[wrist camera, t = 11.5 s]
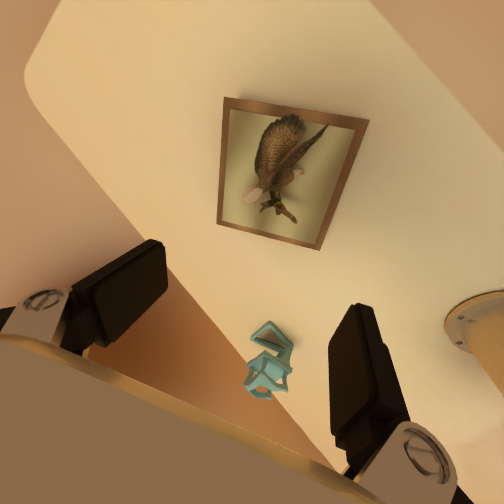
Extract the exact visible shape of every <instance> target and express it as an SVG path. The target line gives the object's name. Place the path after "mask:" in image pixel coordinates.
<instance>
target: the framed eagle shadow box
mask: <svg viewBox="0 0 504 504" xmlns="http://www.w3.org/2000/svg"><path fill="white" fill-rule="evenodd" d="M291 113H294V114H295V116H296V115H299V116H300V120H303V121H304V126H306V130H305V132H304V133H303V135H302V136H301V137H300V138H299V140H298V141H297V142H296V143H295V144H294V145H293V147H292V149H293V148H295V147H296V146H297V145H299V144H301V143H303V142H304V141H306V140H309V139H311V138H312V137H314V136H315V135H316V134H317V133H318V132H319V131H320V130H321V129H322V128H323V127H324V126H325V125H326V124H327V123H329V125H328V127H327V128H326V130H325V131H324V133H323V135H322V136H321V137H320V138H319V139H318V140H317V141H316V142H315V143H314V144H313V145H312V146H311V147H310V148H309V149H308V150H307V152H306V153H305V155H304V156H303V157H302V158H301V159H300V160H299V161H298V162H297V163H296V165H295V166H294V168H293V169H300V170H302V171H304V174H301V175H300V176H298V177H297V178H296V179H294V180H293V181H292V182H291V183H289V184H288V185H286V186H283V188H282V189H281V192H280V197H281V202H282V203H283V205H284V206H285V207H286V210H287V211H288V212H290V213H291V214H292V215H293V216H295V217H296V220H297V224H295V223H293V222H292V221H291V219H289V218H288V217H287V216H285V215H283V214H282V213H281V214H280V215H276V211H275V207H274V206H272V207H269V208H266V209H264V210H263V212H262V213H260V209H261V208H262V205H260V204H261V203H262V202H266V201H268V200H271V198H270V196H271V195H270V193H269V191H266V192H265V193H263V194H262V196H261V197H260V198H259V200H258V201H257V202H255V203H253V204H244V203H243V202H242V195H243V194H244V191H245V189H246V188H247V187H248V186H250V185H255V184H258V183H259V181H260V180H259V177H257V174H256V173H255V170H254V168H255V166H254V163H255V157H256V155H257V151H258V147H259V143H260V140H261V136H262V134H263V133H264V130H265V129H267V127H268V126H269V125H270V123H272V122H275V120H276V119H279V120H280V119H281V118H282V117H283V115H287V116H289V115H290V114H291ZM369 121H370V120H367V119H361V118H354V117H348V116H342V115H336V114H329V113H323V112H317V111H310V110H304V109H298V108H291V107H285V106H279V105H273V104H266V103H260V102H254V101H247V100H241V99H235V98H228V97H224V104H223V121H222V138H221V155H220V172H219V189H218V206H217V224H218V225H222V226H226V227H230V228H234V229H238V230H241V231H245V232H249V233H253V234H257V235H261V236H264V237H268V238H272V239H276V240H280V241H284V242H287V243H291V244H295V245H299V246H303V247H307V248H311V249H314V250H318V251H320V249H321V246H322V244H323V241H324V238H325V236H326V233H327V230H328V228H329V225H330V223H331V220H332V217H333V215H334V212H335V210H336V207H337V204H338V202H339V199H340V197H341V194H342V191H343V189H344V186H345V183H346V181H347V178H348V176H349V173H350V170H351V168H352V165H353V163H354V160H355V157H356V155H357V152H358V150H359V147H360V144H361V142H362V139H363V136H364V134H365V131H366V129H367V126H368V123H369ZM292 149H291V150H292Z"/></svg>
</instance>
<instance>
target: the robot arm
mask: <svg viewBox="0 0 504 504" xmlns="http://www.w3.org/2000/svg"><path fill="white" fill-rule="evenodd" d="M71 287H72V289H73V290H72V291H71V292H68V291H67V289H65V288H62V287H48V288H43V289H40V290H37V291H34V292H32V293H30V294H28V295H27V296H26V297H24V298H23V299H22V300H21V301H20V302H19V303H18V304H17V306H15V307H8V308H3V309H0V504H474V503H473V502H472V501H471V500H470V499H469V498H468V496H467V495H466V494H465V493H464V492H463V491H462V490H461V488H460V487H459V486H458V485H457V480H458V478H457V474H456V469H455V466H454V464H453V462H452V460H451V458H450V456H449V454H448V453H447V451H446V450H445V448H444V447H443V445H442V444H441V443H440V442H439V441H438V440H437V439H436V437H435V436H434V435H432V434H431V433H430V432H429V431H428V430H427V429H425V428H424V427H422V426H420V425H419V424H417V423H414V422H411V420H410V417H409V414H408V411H407V407H406V404H405V401H404V398H403V395H402V391H401V388H400V385H399V382H398V379H397V375H396V372H395V369H394V366H393V362H392V359H391V356H390V353H389V350H388V347H387V346H386V345H385V344H384V343H383V341H382V338H381V334H380V331H379V328H378V324H377V321H376V317H375V314H374V311H373V308H372V307H370V306H367V305H364V304H361V303H356V304H355V305H353V304H352V305H351V306H350V307H349V309H348V311H347V312H346V314H345V316H344V317H343V319H342V321H341V323H340V324H339V326H338V328H337V329H336V331H335V333H334V335H333V336H332V338H331V340H330V342H329V345H328V362H329V395H330V428H331V434H332V435H333V436H335V444H336V447H338V448H340V449H343V450H345V451H346V457H347V462H348V466H347V467H346V468H345V469H344V471H343V472H342V473H341V474H339V473H337V472H335V471H334V470H332V469H330V468H328V467H326V466H324V465H322V464H320V463H317V462H315V461H313V460H311V459H309V458H307V457H305V456H303V455H300V454H298V453H296V452H294V451H292V450H290V449H288V448H286V447H284V446H281V445H279V444H277V443H275V442H272V441H270V440H268V439H266V438H264V437H262V436H259V435H257V434H255V433H253V432H251V431H248V430H246V429H244V428H242V427H239V426H237V425H235V424H233V423H231V422H228V421H226V420H224V419H222V418H219V417H217V416H215V415H213V414H210V413H208V412H206V411H204V410H202V409H199V408H197V407H195V406H193V405H190V404H188V403H186V402H183V401H181V400H179V399H177V398H175V397H172V396H170V395H168V394H166V393H163V392H161V391H159V390H157V389H154V388H152V387H150V386H148V385H145V384H143V383H141V382H138V381H136V380H134V379H132V378H129V377H127V376H125V375H123V374H120V373H118V372H116V371H114V370H111V369H109V368H107V367H104V366H102V365H100V364H98V363H95V362H93V361H91V360H88V359H87V356H88V352H89V347H90V345H91V344H93V342H95V344H97V345H99V346H101V347H104V348H106V347H107V346H108V345H109V344H110V343H111V342H115V341H116V340H117V339H118V338H119V337H120V336H121V335H122V334H123V333H124V332H125V331H126V330H127V329H128V328H129V327H130V326H131V325H132V324H133V323H134V322H135V321H136V320H137V319H138V318H139V317H140V316H141V315H142V314H143V313H144V312H145V311H146V310H147V309H148V308H149V307H150V306H151V305H152V304H153V303H154V302H155V301H156V300H157V299H158V298H159V297H160V296H161V295H162V294H163V293H164V292H165V291H166V290H167V288H168V278H167V265H166V253H165V247H164V246H163V244H162V242H160V241H156V240H153V239H149V240H147V241H145V242H143V243H142V244H140V245H138V246H137V247H135V248H133V249H132V250H130V251H128V252H127V253H125V254H124V255H122V256H120V257H118V258H117V259H115V260H114V261H112V262H110V263H108V264H107V265H105V266H104V267H102V268H100V269H99V270H97V271H95V272H94V273H92V274H90V275H89V276H87V277H85V278H84V279H82V280H80V281H79V282H77V283H75V284H74V285H72V286H71ZM445 331H446V334H447V336H448V337H449V339H450V340H451V342H452V343H453V344H454V345H455V346H457V347H458V348H460V349H462V350H464V351H466V352H469V353H472V354H474V355H475V356H476V358H477V359H478V361H479V362H480V363H481V365H482V366H483V368H484V369H485V370H486V372H487V373H488V375H489V376H490V378H491V379H492V380H493V382H494V383H495V385H496V386H497V388H498V389H499V390H500V392H501V393H502V395H503V396H504V291H502V292H494V293H489V294H484V295H481V296H478V297H475V298H472V299H470V300H468V301H466V302H464V303H462V304H461V305H459V306H458V307H456V308H455V309H454V310H453V311H452V312H451V313H450V314H449V316H448V317H447V319H446V322H445Z"/></svg>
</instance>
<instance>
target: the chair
mask: <svg viewBox="0 0 504 504" xmlns="http://www.w3.org/2000/svg"><path fill="white" fill-rule="evenodd" d="M269 327H270V328H271V329H272V330H273V332H274V333H275V334H276V335H277V337H278V338H279V339H280V340H281V342H282V343H283V344H284V345H285V346H286V349H284V348H282V347H280V346H278V345H275V344H272V343H270V342H267V341H264V340H262V339H259V338H256V337H257V336H258V335H260V334H261V333H262V332H263V331H265V330H266V329H267V328H269ZM250 340H251V341H253V342H255V343H258V344H260V345H263V346H265V347H268V348H270V349H273V350H275V351H277V352H279V353H278V355H277V356H273V355H272V354H270V353H269V352H267V351H266V350H265V351H263V352H262V353H261V354H260V355H258V356H257V357H256V358H254V359H252V360H251V361H249V362H248V363H247V367H248V368H250V372H249V374H248V376H247V378H246V380H245V382H244V384H243V385H244V386H245V387H246V389H247V390H248V391H249V393H250V394H251V395H252V396H254V397H256V398H266V399H269V400H271V391H284V392H288V387H287V381H286V377H287V375H288V374H290V373H292V368H291V367H290V364H289V361H290V356H291V353H292V350H293V345H292V344H291V343H290V342H289V341H288V340H287V339H286V337H285V336H284V335H283V334H282V333H281V332H280V330H279V329H278V328H277V327H276V326H275V325H274V324H273V323H272V322H271V321H269V322H267V323H266V324H265V325H264V326H263V327H261V328H260V329H259V330H258V331H257V332H255V333H254V334H253V335H252V336H251V339H250ZM254 371H255V372H257V374H256V375H255V376H254V377H252V375H253V373H254ZM251 377H252V378H251ZM280 378H282V381H283V384H278V383H276V382H275V381H277V380H278V379H280ZM259 385H262V386H264V387H266V388H267V389H268V392H267V393H261V392H258V391H256V390H255V389H254V388H256V387H257V386H259Z"/></svg>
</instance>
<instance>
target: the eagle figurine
mask: <svg viewBox="0 0 504 504" xmlns="http://www.w3.org/2000/svg"><path fill="white" fill-rule="evenodd" d="M328 125H329V123H327V124H326V125H325V126H324V127H323V128H322V129H321V130H320V131H319V132H318V133H317V134H316V135H315V136H314V137H312V138H311V139H309V140H306V141H304V142H303V143H301V144H299V145H297V146H296V147H295V148H293V149H292V147H293V145H294V144H295V143H296V142H297V141H298V140H299V138H300V137H301V136H302V135H303V133H304V132H305V130H306V126H304V121H303V120H300V116H299V115H296V116H295V114H294V113H291V114H290V115H289V116H287V115H283V117H282V118H281V119H280V120H279V119H276V120H275V122H272V123H270V125H269V126H268V127H267V129H265V130H264V133H263V134H262V136H261V140H260V143H259V147H258V151H257V155H256V157H255V163H254V166H255V168H254V170H255V173H256V174H257V177H259V180H260V181H259V183H258V184H255V185H250V186H248V187H247V188H246V189H245V191H244V194H243V195H242V202H243V203H244V204H253V203H255V202H257V201H258V200H259V198H260V197H261V196H262V194H263V193H265V192H266V191H269V193H270V195H271V196H270V198H271V200H268V201H266V202H262V203H261V204H260V205H262V208H261V209H260V213H262V212H263V210H264V209H266V208H269V207H272V206H274V207H275V211H276V215H280V214H281V213H282V214H283V215H285V216H287V217H288V218H289V219H291V221H292V222H293V223H295V224H297V220H296V217H295V216H293V215H292V214H291V213H290V212H288V211H287V210H286V207H285V206H284V205H283V203H282V202H281V197H280V192H281V189H282V188H283V186H286V185H288V184H289V183H291V182H292V181H293V180H294V179H296V178H297V177H298V176H300V175H301V174H304V171H302V170H300V169H293V168H294V166H295V165H296V163H297V162H298V161H299V160H300V159H301V158H302V157H303V156H304V155H305V153H306V152H307V150H308V149H309V148H310V147H311V146H312V145H313V144H314V143H315V142H316V141H317V140H318V139H319V138H320V137H321V136H322V135H323V133H324V131H325V130H326V128H327V127H328ZM291 149H292V150H291Z"/></svg>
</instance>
